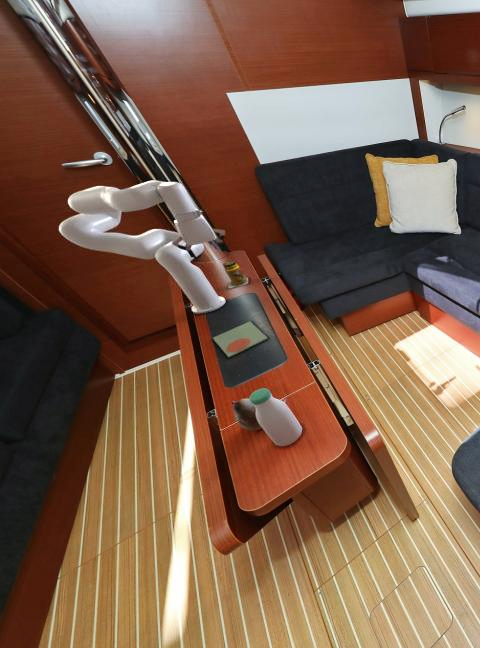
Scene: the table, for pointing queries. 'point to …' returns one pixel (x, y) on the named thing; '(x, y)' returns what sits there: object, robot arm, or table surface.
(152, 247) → the robot arm
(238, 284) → the condiment
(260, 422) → the milk bottle
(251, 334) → the placemat
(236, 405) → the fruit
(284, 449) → the table surface
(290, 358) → the table surface
